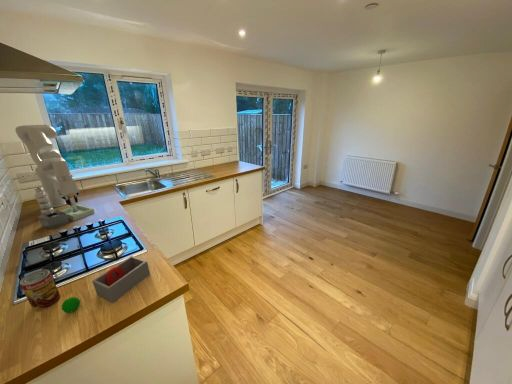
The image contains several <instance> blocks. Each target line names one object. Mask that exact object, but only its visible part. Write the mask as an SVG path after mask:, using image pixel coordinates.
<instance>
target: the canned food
mask: <svg viewBox="0 0 512 384" xmlns="http://www.w3.org/2000/svg"><path fill="white" fill-rule="evenodd" d="M19 286H20V287H21V289H22V292H23V293H24V296H25V297H26V299H27V301H28V304H30V307H31V309H32V311H35V312H40V311H44V310H46V309H49V308H51V307H52V306H54V305H55V304H57V303H58V302H59V301H60V300H61V298H62V297H61V293H60V291H59V289H58V287H57V285H56V282H55V280H54V278H53V275H52V273H51V271H50V270H49V269H44V268H43V269H39V270H35V271H33V272H31V273H29V274H27V275H25V276H24V277H22V279H20V280H19Z"/></svg>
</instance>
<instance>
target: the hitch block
mask: <svg viewBox="0 0 512 384" xmlns="http://www.w3.org/2000/svg"><path fill="white" fill-rule="evenodd" d="M61 211H62V210H54V212H51V213H48V214H45V215H42V214H41V215H40V216H39V215H38V216H37V218H38V220H39V223H40V225H41V227H42V228H45V229H47V230H53V229H56V228H60V227H61V226H64V225H66V224H69V223H70V221H69V219H68V218H67V215H66V213H64V212H61Z"/></svg>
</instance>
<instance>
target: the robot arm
mask: <svg viewBox="0 0 512 384" xmlns="http://www.w3.org/2000/svg"><path fill="white" fill-rule="evenodd" d="M14 130H15V133H16V135H17V137H18V138H19V140H20V141H21V142H22V143H23V144H24V145H25V146H26V148H27V150H28V152H29V155H30V157H31V160H32V161H33V162H34V163H35V165H36V166H37V167H35V169H34V172H35V174H36V176H37V178H38V180H39V181H40V182H41V185H42V188H43V191H44V192H46V193H47V194H48V198H49V202H50V204H51V206H52V208H53V209H54V208H60V207H62V206H65V205H68V206H70V205H71V203H70V200H69V199H68V196H67V195H70V194H73V193H74V198H75V201H76V204H78V203H79V202H78V201H79V199H78V195H79V194H80V193H81V192H82V190H81V189H79V188H78V185H77V183H76V182H75V179H74V178H73V177H74V175H73V174H71V171H70V168H69V165H68V163H67V161H66V160H65V159H64V158H63V156H62V154H61V153H60V151H59V150H58V149H54V144H53V143H52V142H51V139H52V140H53V139H56V138H57V137H58V133H57V130H56V129H55V128H54V127H53V126H51V125H47V124H28V125H27V124H26V125H18V126H17V127H16V128H15V129H14Z"/></svg>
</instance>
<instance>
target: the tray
mask: <svg viewBox="0 0 512 384" xmlns="http://www.w3.org/2000/svg"><path fill="white" fill-rule="evenodd" d="M77 207H78V210H79V211H78V212H74V213H73V212H72V210H71V207H68V208H65V209H62V210H60V211H61V212H64V213H66V215H67V218H68V220H72V221H77V220H79V219H82V218H85V217H87V216H89V215H92V214H95V209H94V208H92V207H88V206H85V205H81V204H77Z"/></svg>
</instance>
